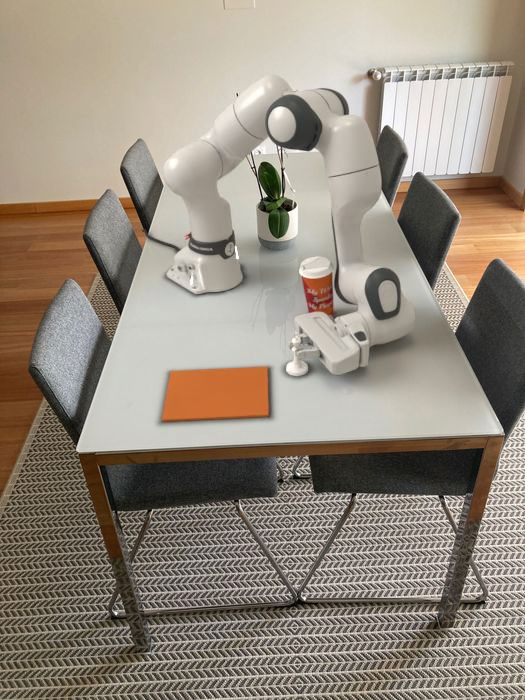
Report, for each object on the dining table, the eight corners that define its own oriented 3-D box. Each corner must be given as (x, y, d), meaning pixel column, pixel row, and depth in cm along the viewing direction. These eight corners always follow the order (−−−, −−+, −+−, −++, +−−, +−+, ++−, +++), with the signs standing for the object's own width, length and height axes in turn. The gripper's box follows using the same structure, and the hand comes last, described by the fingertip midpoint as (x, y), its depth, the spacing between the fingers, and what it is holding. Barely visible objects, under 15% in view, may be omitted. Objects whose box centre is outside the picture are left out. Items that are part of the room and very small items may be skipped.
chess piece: (307, 361, 137) (306, 325, 131) (309, 375, 133) (308, 338, 127) (285, 363, 137) (284, 327, 131) (286, 376, 133) (285, 340, 127)
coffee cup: (311, 328, 147) (304, 276, 138) (301, 311, 154) (293, 260, 145) (343, 319, 148) (338, 267, 139) (331, 302, 155) (326, 251, 146)
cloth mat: (162, 421, 123) (161, 419, 123) (171, 373, 136) (170, 371, 136) (268, 416, 123) (268, 414, 123) (267, 368, 136) (267, 366, 135)
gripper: (327, 300, 141) (273, 315, 137) (372, 346, 126) (313, 364, 122) (327, 322, 145) (274, 337, 141) (371, 370, 129) (313, 388, 126)
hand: (292, 350), depth 131 cm, fingers closed on chess piece
